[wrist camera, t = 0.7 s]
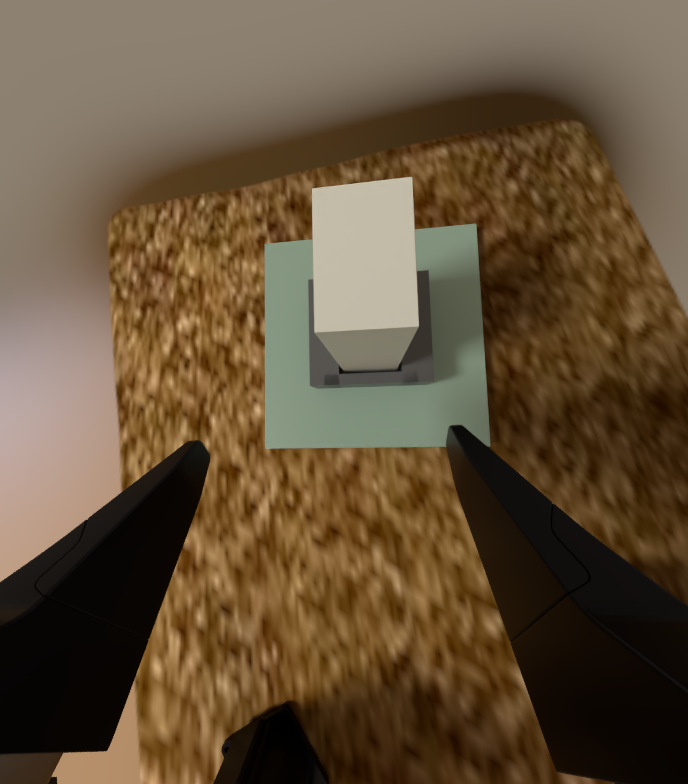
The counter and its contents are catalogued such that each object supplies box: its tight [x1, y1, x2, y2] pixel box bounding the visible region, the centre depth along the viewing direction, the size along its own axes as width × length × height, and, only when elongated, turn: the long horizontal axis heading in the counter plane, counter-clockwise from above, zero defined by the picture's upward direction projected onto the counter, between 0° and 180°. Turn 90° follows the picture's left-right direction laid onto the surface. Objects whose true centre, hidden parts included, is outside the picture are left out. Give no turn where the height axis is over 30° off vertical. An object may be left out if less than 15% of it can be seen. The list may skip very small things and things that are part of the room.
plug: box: [312, 177, 419, 374], centre depth 17 cm, size 6×4×12 cm
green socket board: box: [265, 224, 491, 448], centre depth 22 cm, size 18×18×3 cm
